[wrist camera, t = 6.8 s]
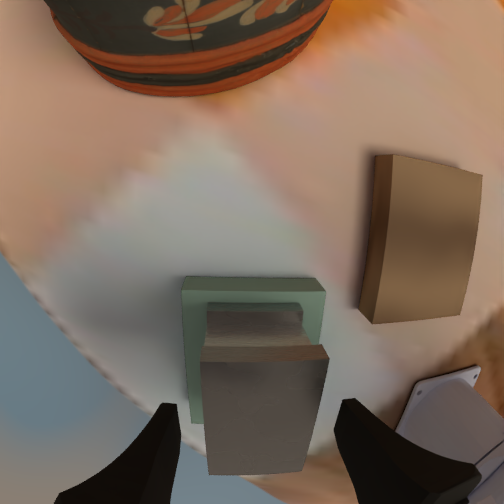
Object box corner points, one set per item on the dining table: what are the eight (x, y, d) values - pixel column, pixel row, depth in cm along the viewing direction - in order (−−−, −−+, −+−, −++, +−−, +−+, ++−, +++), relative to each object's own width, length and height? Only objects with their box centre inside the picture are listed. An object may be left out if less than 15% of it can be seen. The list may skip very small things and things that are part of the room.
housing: (285, 407, 16) (301, 471, 11) (211, 408, 16) (208, 474, 11) (298, 302, 15) (329, 358, 10) (207, 301, 14) (199, 361, 9)
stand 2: (443, 303, 18) (459, 315, 16) (358, 309, 17) (371, 324, 15) (462, 173, 16) (482, 175, 14) (375, 155, 15) (393, 154, 13)
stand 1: (297, 401, 19) (303, 421, 17) (193, 402, 18) (191, 423, 16) (315, 278, 17) (326, 291, 15) (186, 276, 16) (181, 289, 14)
